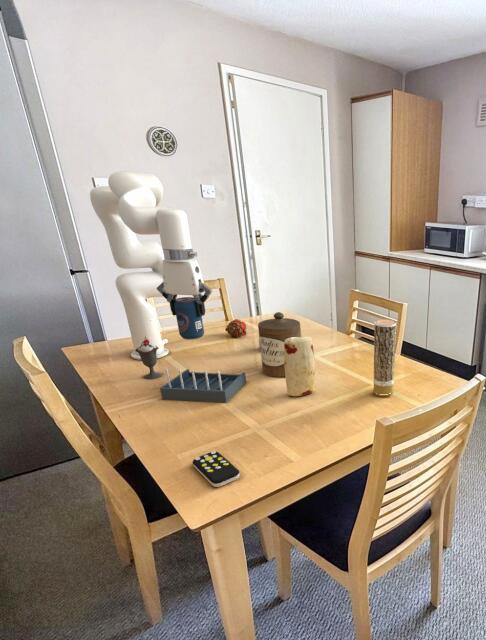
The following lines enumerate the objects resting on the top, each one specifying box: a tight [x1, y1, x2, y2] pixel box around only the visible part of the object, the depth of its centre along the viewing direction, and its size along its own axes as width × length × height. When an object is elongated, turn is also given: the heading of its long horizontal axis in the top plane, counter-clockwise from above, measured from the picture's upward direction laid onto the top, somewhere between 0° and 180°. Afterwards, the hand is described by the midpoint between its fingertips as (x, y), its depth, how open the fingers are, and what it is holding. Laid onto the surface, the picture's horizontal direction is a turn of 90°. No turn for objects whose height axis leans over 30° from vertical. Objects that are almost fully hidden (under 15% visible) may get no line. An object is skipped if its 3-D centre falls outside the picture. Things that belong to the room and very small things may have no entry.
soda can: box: [174, 296, 205, 341], centre depth 126 cm, size 7×7×12 cm
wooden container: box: [257, 311, 302, 378], centre depth 150 cm, size 15×15×22 cm
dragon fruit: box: [225, 318, 247, 338], centre depth 186 cm, size 8×8×12 cm
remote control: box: [192, 450, 241, 488], centre depth 95 cm, size 6×13×2 cm, turn 48°
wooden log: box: [373, 319, 397, 398], centre depth 135 cm, size 7×7×25 cm
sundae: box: [134, 336, 162, 380], centre depth 139 cm, size 7×7×15 cm
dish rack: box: [159, 368, 247, 403], centre depth 133 cm, size 16×20×10 cm
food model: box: [284, 336, 316, 397], centre depth 132 cm, size 10×7×20 cm
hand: (188, 314), depth 125 cm, fingers closed on soda can, 7 cm apart
